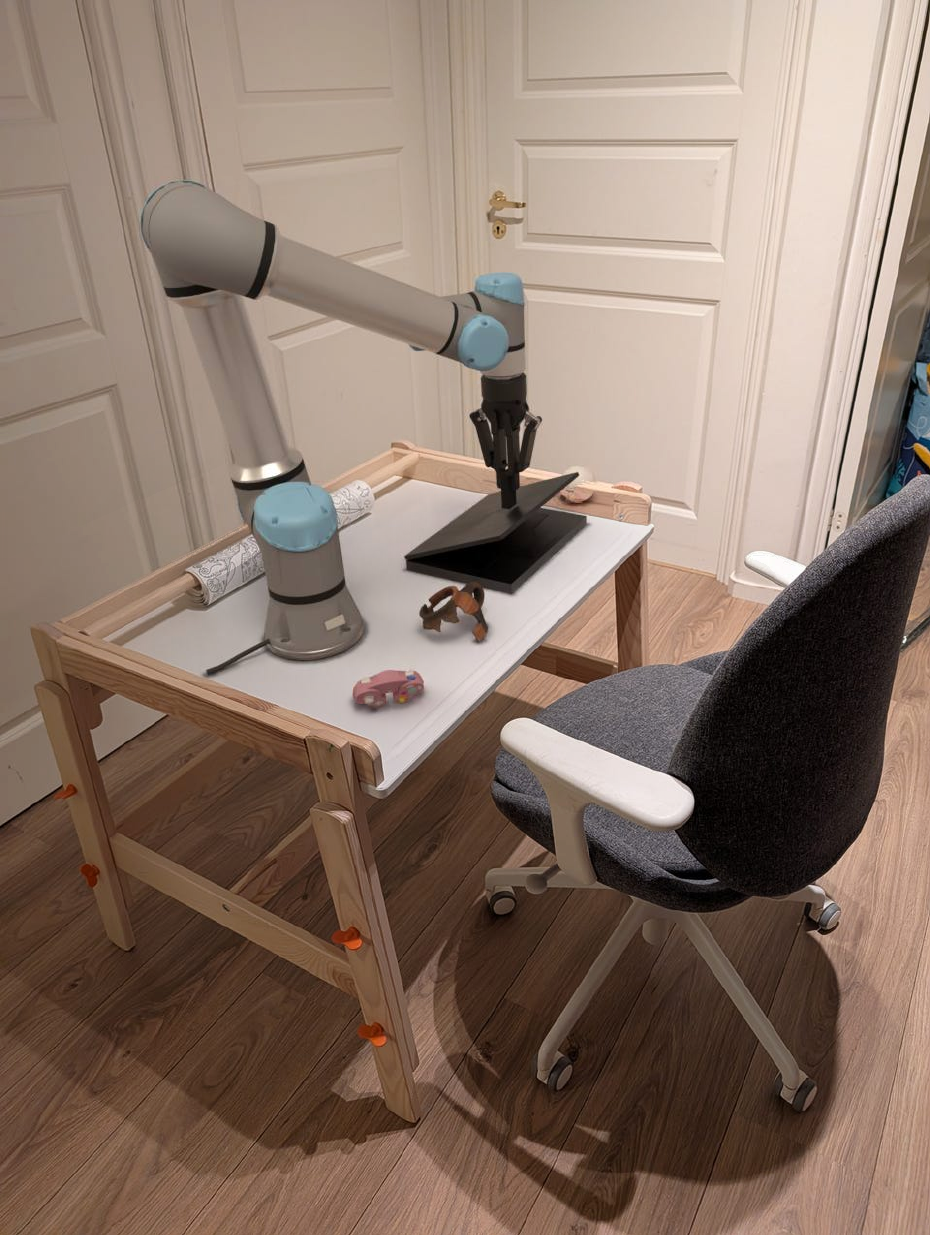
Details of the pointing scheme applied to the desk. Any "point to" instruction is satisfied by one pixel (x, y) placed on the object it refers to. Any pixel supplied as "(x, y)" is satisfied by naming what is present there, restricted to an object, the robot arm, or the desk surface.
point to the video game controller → (388, 687)
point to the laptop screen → (491, 518)
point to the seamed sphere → (579, 477)
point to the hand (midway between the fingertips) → (509, 505)
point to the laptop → (505, 553)
